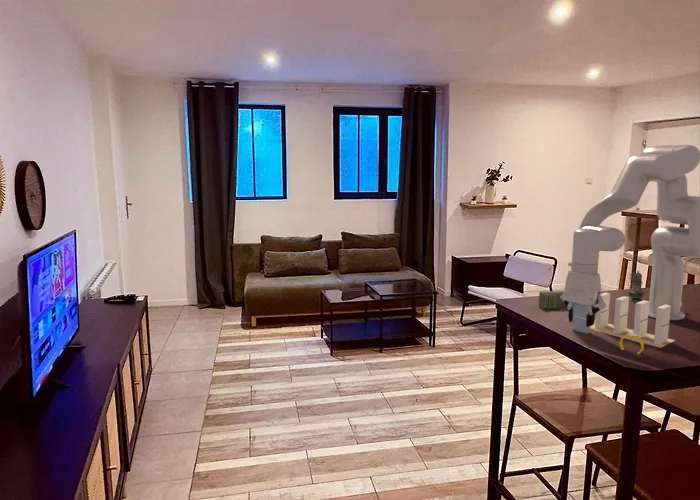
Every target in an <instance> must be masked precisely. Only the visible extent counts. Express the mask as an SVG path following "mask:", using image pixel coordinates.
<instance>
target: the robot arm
mask: <svg viewBox="0 0 700 500" xmlns="http://www.w3.org/2000/svg"><path fill="white" fill-rule="evenodd" d="M699 164H700V150H699V148H698V147H696V146H695V145H693V144H674V145H673V144H671V145H669V144H666V145H663V144H662V145H655V146H652V145H651V146H649V147H646V148H644V150H643V151H642V153H641V154H636V155H633V156H631V157H629V158H628V159H627V160H626V162H625V164H624V166H623V168H622V169H621V172H620V173H619V176H618V178H617V179H616V182H615V184H614V185H613V187H612V189H611V192H610V193H609V194H608V195H607V196H605V197H603V199H601V200H599V201H598V202H596V204H594V206H592V207H591V208H590V209H588V211H587V212H586V214H585V215H584V217H583V218H582V220H581V223H580V224H579V227H578V228H577V229H575V230H574V232H573V234H572V235H573V236H572V237H573V239H572V255H571V261H569V262H568V264H567V265H568V267H570V269H571V270H568V272H567V275H566V279H565V285H564V290H563V291H564V293H563V294H562V295H561V296H560V298H561V299H562V300H563V301H564V303H565V305H566V309H567V310H568V316H567V317H568V323H572V317H573V303H576V304H580V305H585V306H587V308H588V312H589V314H587V319H586V326H587V327H590V326H592V325H593V324H594V321H595V317H596V313H597V312H598V311H600V310H601V309H603V308H605V307H606V304H605V302H604V301H603V299H602V298H601V294H602V283H601V277H600V276H601V275H600V273H599V270H598V269H599V259H600V258H599V257H600V252H609V253H611V252H615V251H618V250H620V249H621V248H623V246H624V244H625V242H626V236H625V233H624V232H623V231H622V230H620V229H618V228H616V227H610V226H604V225H603V226H602V225H601V224H602V223H603V222H604V221H605V220H606V219H607V218H609V217H611V216H614V215H615V214H617V213H621V212H624V211H627V210H629V209H632V208H634V207H636V206H637V205H638V203H639V202H640V200H641V199H642V196H643V194H644V192H645V190H646V188H647V186H648V184H649V183H650V182H656V183H657V185H656V187H657V196H656V197H657V198H656V214H657V218H658V220H659V221H661V222H664V223H668V224H675V225H676V224H677V225H685V226H688V228H687V227H680V226H671V225H670V226H669V225H665V226H664V225H663V226H660V227H658V228H656V229H655V230H654V231H653V232H652V233H651V238H650V245H651V252H652V253H651V254H652V263H651V275H650V286H649V297H648V298H649V300H648V301H649V312H648V317H650V318H654V319H656V314H657V307H660V306H662V305H670V306H671V310H670V320H669V321H680V320H684V319H685V318H686V314H685V313H684V312H683V311H681V307H682V306H683V302H682V295H683V287H684V286H683V285H684V277H685V276H684V275H685V264H684V262H683V259H682V257H685V258H692V259H693V258H694V259H700V196H699V195H698V196H697V195H695V196H694V195H689V194H688V178H687V174H688V173H691V172H692V171H694V170H695V169H696V168H697V167H698V165H699ZM595 304H599V306H598V307H596V305H595Z"/></svg>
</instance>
